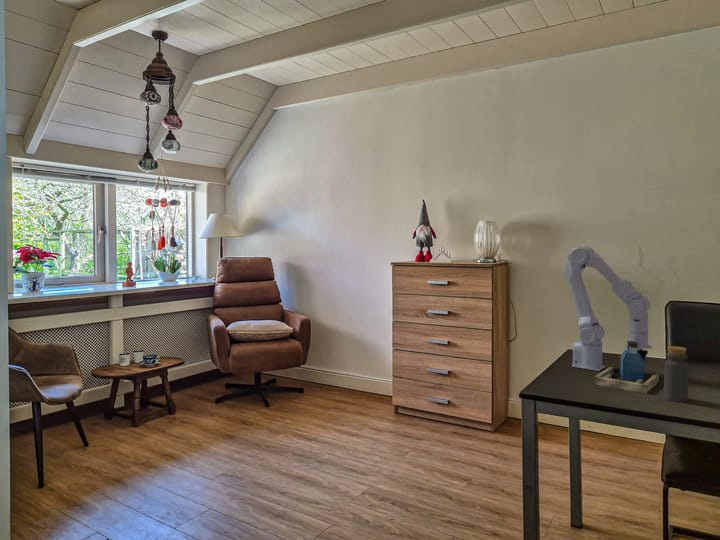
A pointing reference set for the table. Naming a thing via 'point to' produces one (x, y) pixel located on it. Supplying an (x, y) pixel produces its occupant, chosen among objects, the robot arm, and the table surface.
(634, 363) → the perfume bottle
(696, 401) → the table surface
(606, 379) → the walled pen
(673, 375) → the bottle
